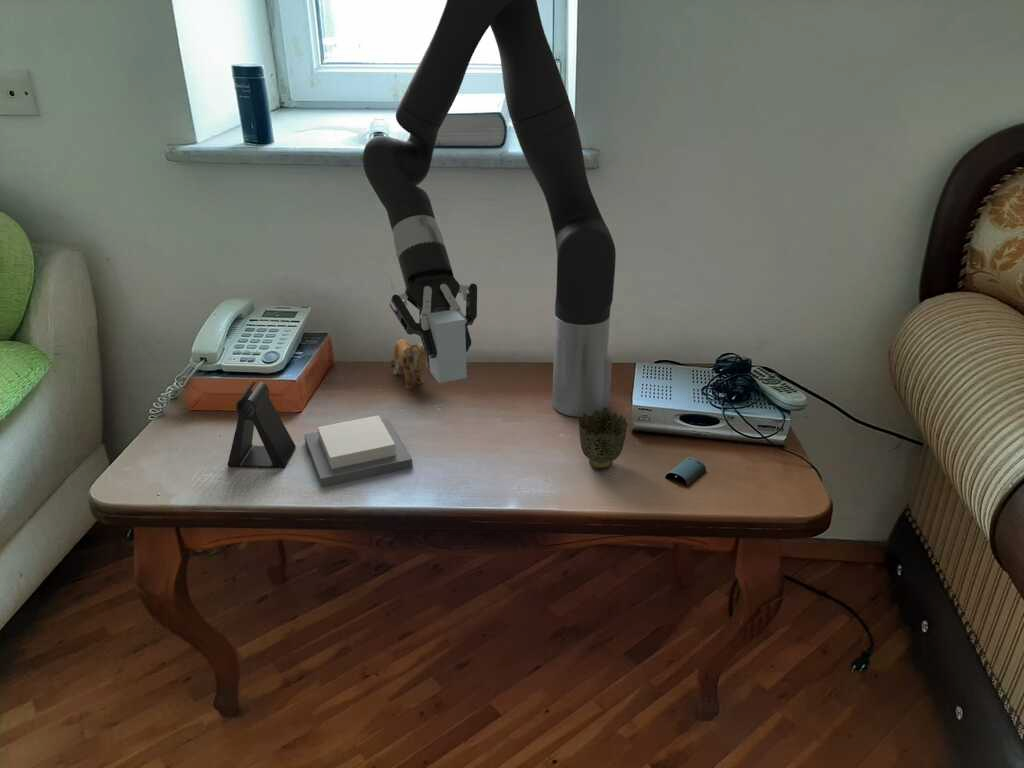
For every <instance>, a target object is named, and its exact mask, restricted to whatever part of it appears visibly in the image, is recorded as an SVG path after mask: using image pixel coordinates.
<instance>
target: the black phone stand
mask: <svg viewBox="0 0 1024 768" xmlns="http://www.w3.org/2000/svg"><path fill="white" fill-rule="evenodd" d="M255 385H256V381H252V382H251V383H250V385H249V386H248V387H247V389H246V390H245V391H244V393H243V394H242V395H241V397H240V399H238V401H237V402H236V405H235V406H236V407H235V408H236V411H237V418H238V419H237V423H236V427H235V430H234V435H233V439H232V443H231V444H232V445H231V448H230V453H229V457H228V462H227V467H228V468H241V469H243V468H244V469H245V468H246V469H247V468H248V469H249V468H250V469H251V468H252V469H255V468H258V469H285V468H286V466H287V464H288V463H289V460H290V459H291V457H292V455H293V453H294V452H295V449H296V444H295V442H294V440H293V439H292V437H291V435H290V433H289V431H288V430H287V428H286V426H285V424H284V422H283V421H282V419H281V417H280V415H279V413H278V411H277V410H276V408H275V406H274V404H273V403H272V401H271V398H270V392H269V391H270V390H269V389H270V388H269V386H268V385H267V383H265V382H263V381H260V382H259V383H258V385H257V386H256V388H255V389H254V390H253V391H252V389H253V387H255ZM255 429H256V432H257V434H258V436H259V438H260V440H261V442H262V444H263V445H253V437H254V430H255Z"/></svg>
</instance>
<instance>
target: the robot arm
mask: <svg viewBox="0 0 1024 768" xmlns="http://www.w3.org/2000/svg"><path fill="white" fill-rule="evenodd" d="M540 14H541V13H540V11H539V6H538V1H537V0H446V2H445V5H444V8H443V10H442V14H441V16H440V19H439V21H438V23H437V26H436V28H435V31H434V33H433V36H432V38H431V41H429V44H428V46H427V48H426V50H425V52H424V54H423V56H422V58H421V61H419V64H418V66H417V68H416V70H415V72H414V73H413V76H412V78H411V80H410V82H409V83H408V86H407V87H406V89H405V92H404V93H403V96H402V98H401V100H400V102H399V104H398V106H397V108H396V113H395V120H396V122H397V124H398V125H399V126H400V128H402V130H404V131H406V132H407V133H409V137H408V139H407V140H402V139H399V138H394V137H391V136H387V135H376V136H374V137H372V138H371V139H370V140H368V141H367V143H366V144H365V147H364V149H363V152H362V165H363V166H362V167H363V170H364V173H365V177H366V178H367V180H368V182H369V184H370V185H371V187H372V189H373V191H374V192H375V194H376V196H377V198H378V199H379V201H380V203H381V204H382V206H383V207H384V208H385V210H386V213H387V217H388V222H389V224H390V228H391V233H392V237H393V238H392V239H393V243H394V249H395V255H396V258H397V260H398V264H399V267H400V271H401V275H402V278H403V281H404V285H405V291H404V292H403V293H401V294H399V295H398V294H393V295H392V296H391V300H390V303H389V307H390V308H391V310H392V312H393V313H394V315H395V317H396V318H397V319H398V322H399V323H400V325H401V326H402V327H403V330H404V332H405V333H406V334H407V335H410V336H411V335H416V336H419V338H420V340H421V343H422V344H423V348H424V351H425V353H426V355H430V358H431V359H432V358H435V357H436V355H437V350H436V346H435V343H434V339H433V336H432V332H431V331H430V330H429V325H430V324H429V320H428V316H427V314H430V313H434V312H441V311H447V310H453V311H454V310H456V311H457V312H458V313H459V314H460V315H461V316H462V317H463V318H464V319H465V337H466V353H468V351H469V350H470V347H471V345H472V338H471V335H470V331H469V328H468V326H472V325H473V324H474V321H475V320H476V318H477V316H478V285H477V284H476V283H471V284H469V285H464V284H460V283H459V281H458V280H457V279H456V278H455V276H454V272H453V267H452V265H451V262H450V261H451V260H450V259H449V254H448V251H447V248H446V244H445V241H444V238H443V235H442V231H441V229H440V228H439V225H438V222H437V219H436V217H435V214H434V209H433V206H432V202H431V200H430V197H429V195H428V193H427V191H425V190H424V189H422V188H421V187H419V186H418V185H419V184H421V183H422V182H423V181H424V180H425V179H426V177H427V175H428V174H429V172H430V168H431V164H432V158H433V154H434V150H435V146H436V142H437V139H438V138H437V137H438V134H439V130H440V128H441V126H442V125H443V124H444V121H445V119H446V117H447V115H448V113H449V111H450V110H451V108H452V106H453V104H454V102H455V100H456V97H457V95H458V93H459V91H460V89H461V86H462V84H463V83H462V82H463V81H464V77H465V75H466V72H467V69H468V67H469V64H470V62H471V60H472V57H473V55H474V53H475V51H476V49H477V47H478V46H479V45H480V42H481V40H482V38H483V37H484V35H485V34H486V31H488V29H489V27H490V29H491V31H492V34H493V36H494V40H495V43H496V45H497V49H498V54H499V58H500V66H501V74H502V82H503V91H504V96H505V102H506V106H507V112H508V115H509V118H510V121H511V123H512V126H513V130H514V133H515V136H516V138H517V141H518V145H519V147H520V149H521V152H522V153H523V156H524V158H525V160H526V163H527V165H528V167H529V169H530V172H532V174H533V177H534V178H535V180H536V181H537V183H538V185H539V187H540V189H541V191H542V193H543V196H544V199H545V201H546V205H547V207H548V212H549V216H550V219H551V224H552V229H553V232H554V237H555V238H554V239H555V247H556V248H555V249H556V254H557V255H556V259H557V261H556V291H555V294H556V295H555V301H554V332H553V333H554V336H553V338H554V339H553V340H554V341H553V343H554V344H553V373H552V374H553V375H552V378H553V379H552V395H551V396H552V407H553V408H554V409H555V411H557V412H559V413H561V414H562V415H566V416H569V417H574V418H575V417H577V418H579V417H580V416H581V417H583V414H584V413H586V414H587V416H589V415H590V416H592V415H593V413H594V410H598V411H599V412H601V411H603V410H605V409H607V408H610V397H611V395H610V394H611V384H612V383H611V381H612V380H611V379H612V363H613V359H612V357H611V356H610V355H608V352H609V351H608V350H609V349H608V348H609V337H610V336H609V335H610V321H611V319H610V317H611V307H612V303H613V297H614V285H615V273H616V257H617V256H616V255H617V254H616V246H615V242H614V240H613V237H612V233H611V232H610V229H609V227H608V226H607V224H606V222H605V219H604V218H603V216H602V213H601V212H600V210H599V208H598V204H597V202H596V200H595V199H596V198H595V197H594V195H593V192H592V190H591V187H590V185H589V180H588V176H587V171H586V166H585V165H586V164H585V159H584V152H583V147H582V140H581V136H580V133H579V128H578V124H577V121H576V117H575V114H574V109H573V107H572V104H571V101H570V99H569V96H568V95H569V94H568V92H567V90H566V87H565V84H564V83H565V82H563V79H562V75H561V72H560V70H559V67H558V64H557V61H556V59H555V56H554V54H553V50H552V48H551V47H550V46H551V45H550V44H549V41H548V38H547V36H546V34H545V30H544V26H543V23H542V19H541V15H540ZM458 294H460V295H461V297H462V298H461V299H462V300H464V301H465V314H463V312H462V310H461V306H460V304H459V303H458V302H457V300H456V298H457V296H458ZM408 303H410V304H411V305H412V306H414V307H415V308H416V309H417V310H418V322H416V320H415V319H414V317H413V316H412V314H411V313H410V310H409V309H408Z"/></svg>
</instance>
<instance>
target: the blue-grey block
mask: <svg viewBox="0 0 1024 768" xmlns="http://www.w3.org/2000/svg"><path fill="white" fill-rule="evenodd" d="M427 316H428V320H429V324H430V325H429V330H430V331H431V332H432V336H433V339H434V343H435V346H436V350H437V355H436V357H435V358H432V359H431V358H430V355H429V361H430V363H429V372H430V373H431V375H432V376H433V377H434V378H435V380H436V381H437V382H438V383H439V384H442V383H445V382H447V383H448V382H452V381H458V380H463V379H467V377H468V371H467V352H466V337H465V319H464V318H463V317H462V316H461V315H460V314H459V313H458V312H457V311H456V310H454V311H453V310H447V311H441V312H434V313H430V314H427Z"/></svg>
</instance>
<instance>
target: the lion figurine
mask: <svg viewBox="0 0 1024 768" xmlns="http://www.w3.org/2000/svg"><path fill="white" fill-rule="evenodd" d="M393 357H394V359H392V360H391V361H390V363H392V364H394V370H393V373H392V374H393V375H394V376H399V375H400V371H399V370H400V369H399V367H400V365H399V364H401V365H402V367H403V372H404V373H403V374H404V378H405V388H406V389H412V388H413V382H412V380H411V374H413V375H415V382H416V383H417V384H418V383H419V385H422V384H424V382H425V380H423V379H421V377H422V373H423V372H424V371H425V370H426V369H427V368H428V366H429V364H430V361H429V355H426V353H425V351H424V348H423V344H422V342H421V343H420V342H419V343H418V342H417V343H415V344H412V345H410V342H409V341H408V340H407V339H406V340H405V339H402V338H401V339H398V340H396V342H395V343H394V346H393ZM399 362H400V363H399Z"/></svg>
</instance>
